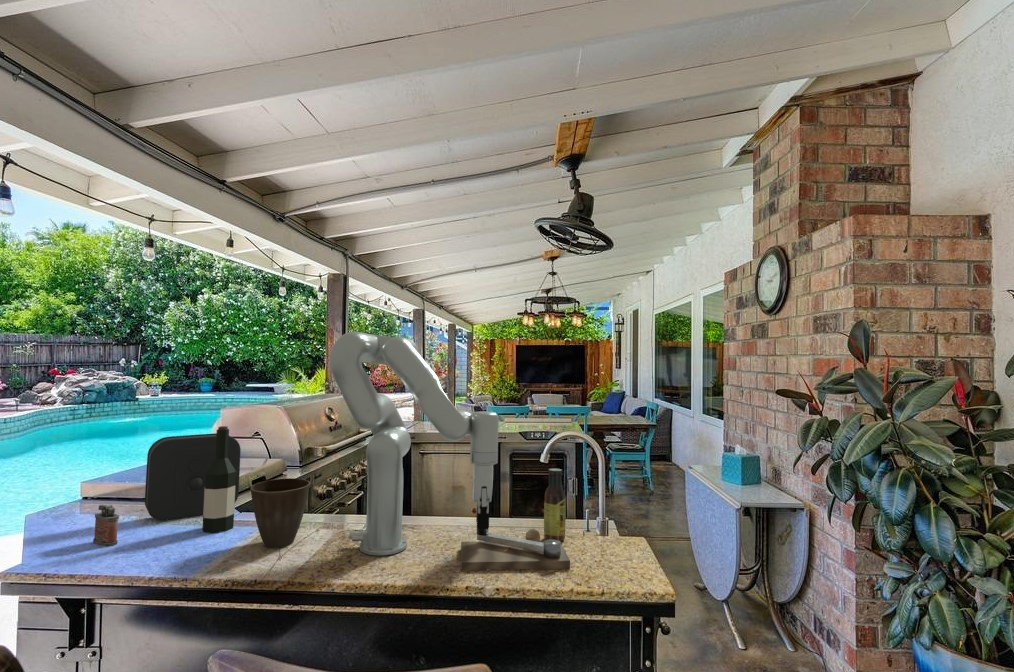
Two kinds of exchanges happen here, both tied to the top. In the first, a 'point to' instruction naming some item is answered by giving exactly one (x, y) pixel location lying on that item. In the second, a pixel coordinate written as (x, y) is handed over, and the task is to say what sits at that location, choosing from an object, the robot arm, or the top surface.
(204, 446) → the speaker
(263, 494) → the plant pot
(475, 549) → the board
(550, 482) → the sauce bottle
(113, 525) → the lighter
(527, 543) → the lever
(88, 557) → the top surface
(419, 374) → the robot arm
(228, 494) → the wine bottle
